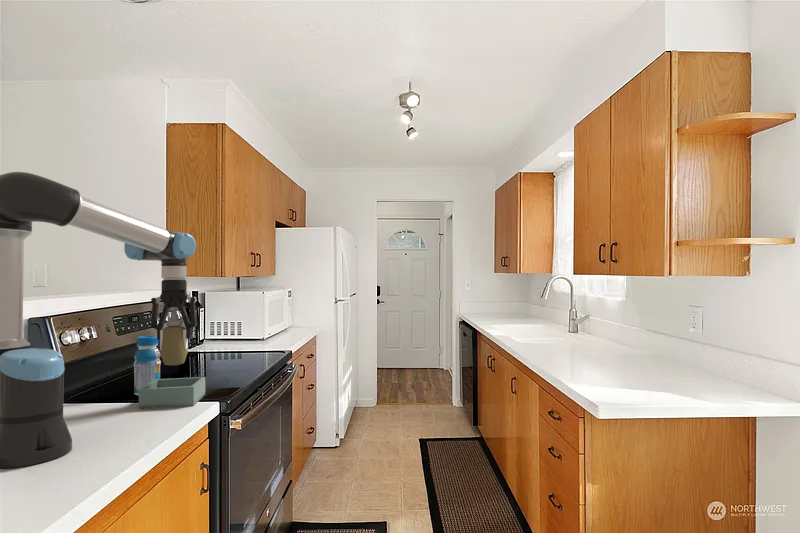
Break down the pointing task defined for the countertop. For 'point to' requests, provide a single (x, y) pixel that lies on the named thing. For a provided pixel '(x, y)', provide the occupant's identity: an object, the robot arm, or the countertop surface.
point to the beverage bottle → (146, 362)
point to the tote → (172, 392)
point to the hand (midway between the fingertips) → (174, 349)
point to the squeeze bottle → (173, 341)
